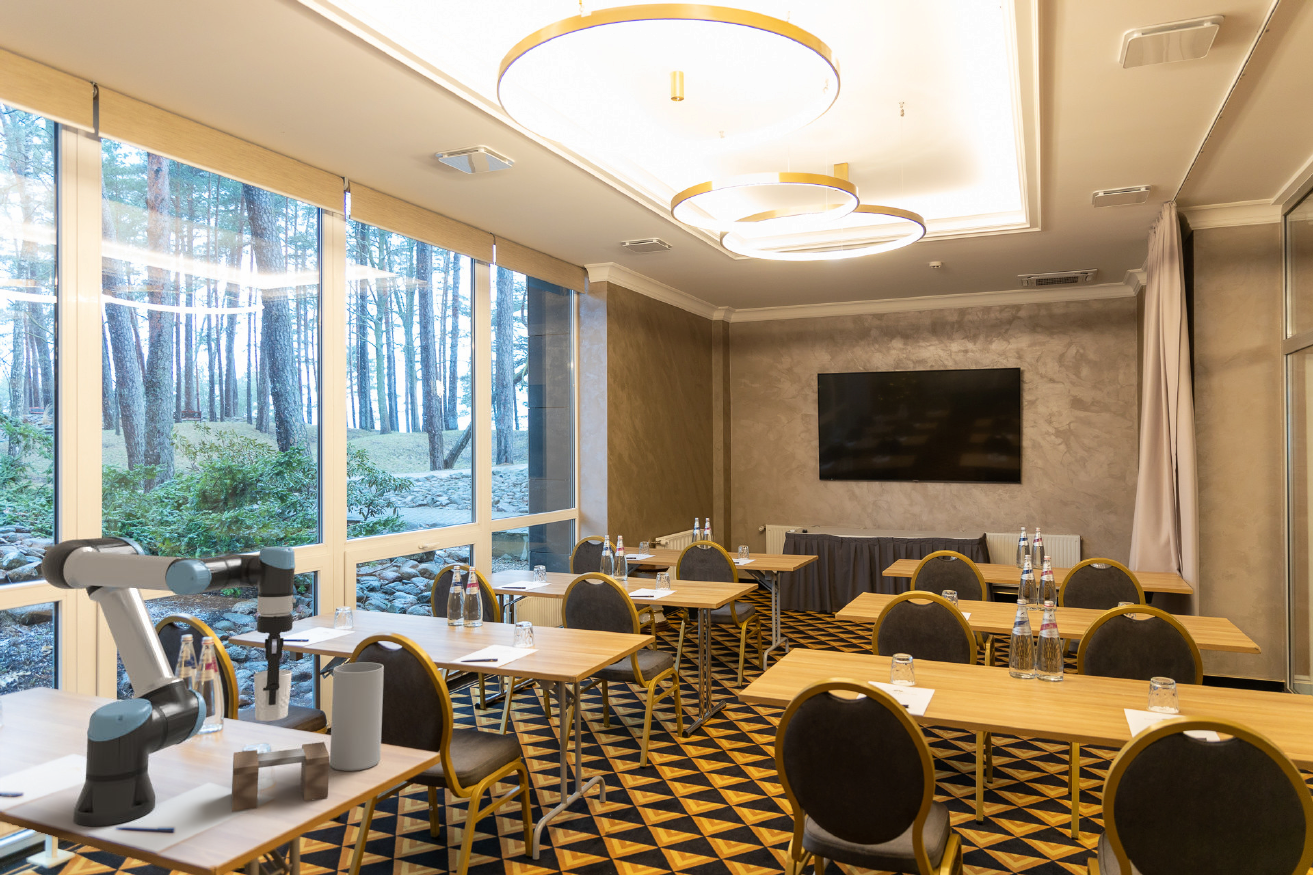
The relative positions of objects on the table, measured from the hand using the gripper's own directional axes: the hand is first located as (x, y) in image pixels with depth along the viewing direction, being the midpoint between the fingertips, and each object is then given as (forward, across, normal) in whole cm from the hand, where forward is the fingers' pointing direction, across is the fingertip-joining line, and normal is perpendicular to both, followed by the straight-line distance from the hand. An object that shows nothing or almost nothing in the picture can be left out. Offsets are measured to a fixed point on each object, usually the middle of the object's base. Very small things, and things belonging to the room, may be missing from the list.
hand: (271, 713), depth 191 cm
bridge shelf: (+20, +5, -2) cm, 21 cm away
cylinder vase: (+21, +22, -21) cm, 36 cm away
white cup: (+1, 0, 0) cm, 1 cm away
